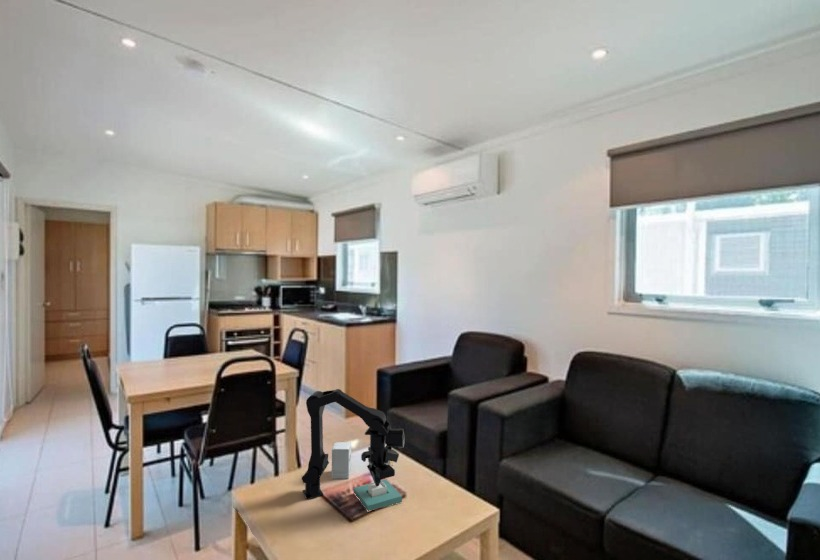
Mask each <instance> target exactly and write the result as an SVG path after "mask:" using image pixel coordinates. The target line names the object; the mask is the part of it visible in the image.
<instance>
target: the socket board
mask: <svg viewBox="0 0 820 560" xmlns="http://www.w3.org/2000/svg"><path fill="white" fill-rule="evenodd" d="M380 482H383V483H384V484H385V485H386V486H387V494H383V495H380V496H376V497H373V498H371V497H370V496H369V494H368V485H371V484H375V483H374V482H371V483H367V484H363V485H359V486H357V487H356V486H355V487H354V488H353V494H354V493H355V494H356V496H357V497H358V498H359V499H360V501H361V502H362V504H363V505H364V506H365V508H366V509H367V510H368V511H369V510H373V509H376V508H381V507H385V506H389V505H392V504H395V505H397V504H396V503H399V504H401V503H400V502H402V503H403V495H402V494H401V493H400V492H399V491H398V490H397V489H396V488H395V487H394V486H393V484H391V483H390V482H389V480H387V479H381V481H380ZM362 504H361V505H362ZM392 506H393V505H392ZM389 507H390V506H389ZM365 508H364V509H365ZM385 508H386V507H385Z"/></svg>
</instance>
